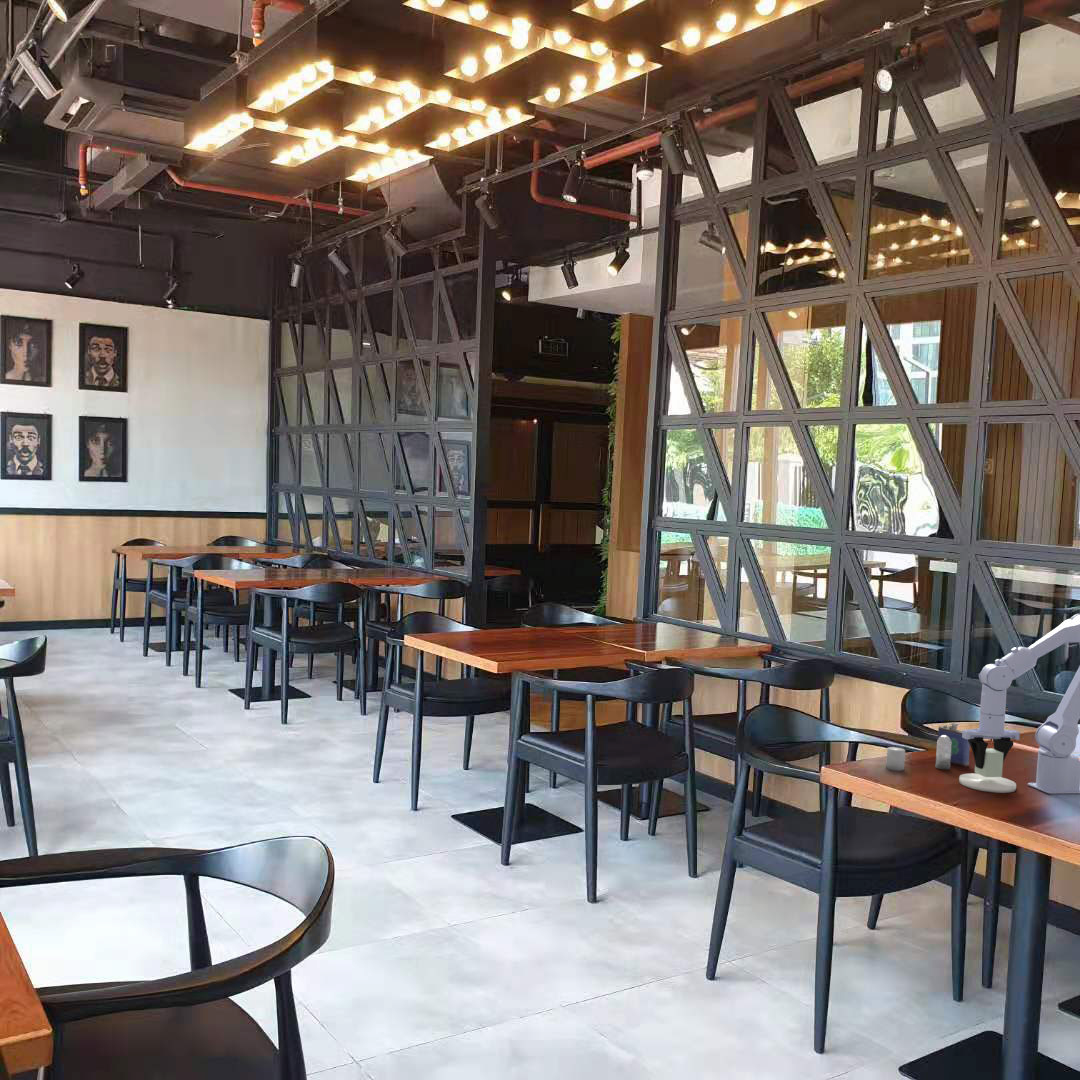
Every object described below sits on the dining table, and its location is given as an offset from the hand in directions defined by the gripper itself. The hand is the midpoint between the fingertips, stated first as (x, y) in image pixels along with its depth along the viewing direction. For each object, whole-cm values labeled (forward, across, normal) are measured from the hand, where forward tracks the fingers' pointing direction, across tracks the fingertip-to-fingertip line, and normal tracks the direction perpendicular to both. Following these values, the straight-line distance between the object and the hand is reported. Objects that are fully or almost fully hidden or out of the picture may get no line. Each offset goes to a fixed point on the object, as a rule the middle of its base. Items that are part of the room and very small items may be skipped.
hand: (988, 767), depth 267 cm
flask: (+5, -4, -22) cm, 23 cm away
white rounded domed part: (+4, +16, -16) cm, 23 cm away
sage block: (+2, 0, 0) cm, 2 cm away
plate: (+4, 0, 0) cm, 4 cm away
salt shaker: (+4, +2, -16) cm, 17 cm away
